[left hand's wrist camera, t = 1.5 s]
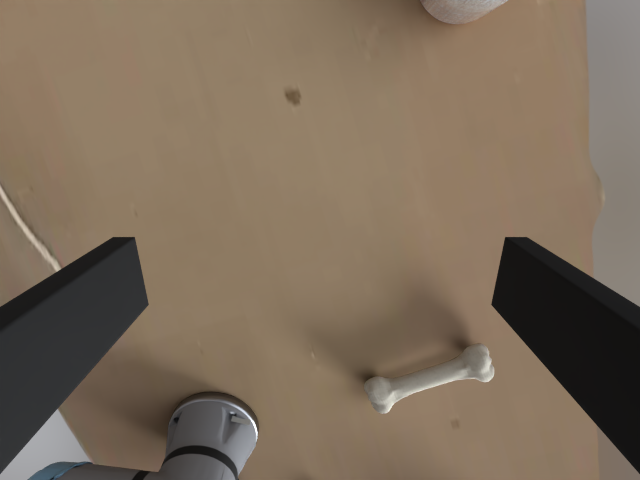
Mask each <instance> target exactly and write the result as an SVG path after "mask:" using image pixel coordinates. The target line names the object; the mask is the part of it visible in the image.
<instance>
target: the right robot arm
mask: <svg viewBox="0 0 640 480" xmlns="http://www.w3.org/2000/svg"><path fill="white" fill-rule="evenodd" d="M258 432H259V424H258V420H257V417H256V415H255V414H254V412H253V411H252V409H251V408H250V407H249V406H248V405H247V404H245V403H244V402H243V401H241V400H239V399H237V398H235V397H233V396H230V395H227V394H223V393H217V392H205V393H199V394H196V395H193V396H190V397H188V398H186V399H185V400H183V401H182V402H181V403H180V404H179V405H178V406H177V408H176V409H175V411H174V413H173V415H172V417H171V419H170V422H169V426H168V436H167V446H166V455H165V459H164V462H163V464H162V466H161V468H160V470H159V472H151V471H143V470H136V469H128V468H120V467H111V466H103V465H95V464H93V463H91V462H80V463H76V462H57V463H53V464H51V465H49V466H47V467H45V468H44V469H42V470H40V471H38V472H37V473H35V474H34V475H33V476H31V477H30V478H29V479H28V480H239V479H238V475H239V473H240V472H241V470H242V468H243V466H244V465H245V463H246V461H247V459H248V458H249V456H250V454H251V453H252V451H253V449H254V448H255V445H256V442H257V437H258Z"/></svg>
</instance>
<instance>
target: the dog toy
mask: <svg viewBox="0 0 640 480" xmlns="http://www.w3.org/2000/svg"><path fill="white" fill-rule="evenodd" d="M493 376H494V367H493V365H492V364H491V358H490V356H489V351H488V349H487V348H486V346H485V345H484V344H481V343H478V344H474V345H470V346H468V347H467V348H466V349H465V350H464V351H463V352H462V353H461V354H460V355H459V356H458V357H456V358H454V359H452V360H450V361H447V362H444V363H441V364H438V365H435V366H432V367H429V368H426V369H423V370H420V371H417V372H414V373H411V374H408V375H404V376H401V377H397V378H384V377H380V376H376V377H373V378H370V379H369V380H367V381H366V382H365V385H364V390H365V392H366V393H367V395H368V399H369V400H370V401H371V403H372V406H373V408H374V409H375V410H376V411H377V412H379V413H383V414H384V413H387V412H389V411H390V409H391V407H392V405H393V404H394V403H395V402H397V401H399V400H400V399H402V398H404V397H406V396H408V395H410V394H413V393H415V392H419V391H422V390H425V389H428V388H431V387H434V386H438V385H441V384H444V383H447V382H451V381H455V380H461V379H477V380H480V381H482V382H488V381H490V380H491V379H492V378H493Z"/></svg>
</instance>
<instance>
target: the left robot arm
mask: <svg viewBox="0 0 640 480" xmlns="http://www.w3.org/2000/svg"><path fill="white" fill-rule="evenodd" d="M148 305H149V304H148V299H147V294H146V290H145V285H144V280H143V275H142V270H141V265H140V260H139V256H138V251H137V246H136V241H135V237H113V238H111V239H109V240H108V241H106V242H105V243H103V244H101V245H100V246H98V247H96V248H95V249H93V250H92V251H90V252H88V253H87V254H85V255H84V256H82V257H80V258H79V259H77V260H75V261H74V262H72V263H71V264H69V265H67V266H66V267H64V268H63V269H61V270H59V271H58V272H56V273H54V274H53V275H51V276H50V277H48V278H46V279H45V280H43V281H42V282H40V283H38V284H37V285H35V286H33V287H32V288H30V289H29V290H27V291H25V292H24V293H22V294H21V295H19V296H17V297H16V298H14V299H12V300H11V301H9V302H8V303H6V304H4V305H3V306H1V307H0V474H1V473H2V471H3V470H4V469H5V468H6V467H7V466H8V464H9V463H10V462H11V461H12V460H13V459H14V458H15V457H16V455H17V454H18V453H19V452H20V451H21V450H22V449H23V447H24V446H25V445H26V444H27V443H28V442H29V441H30V439H31V438H32V437H33V436H34V435H35V434H36V433H37V431H38V430H39V429H40V428H41V427H42V426H43V425H44V423H45V422H46V421H47V420H48V419H49V418H50V417H51V415H52V414H53V413H54V412H55V411H56V410H57V409H58V407H59V406H60V405H61V404H62V403H63V402H64V401H65V399H66V398H67V397H68V396H69V395H70V394H71V393H72V392H73V390H74V389H75V388H76V387H77V386H78V385H79V384H80V382H81V381H82V380H83V379H84V378H85V377H86V376H87V374H88V373H89V372H90V371H91V370H92V369H93V368H94V366H95V365H96V364H97V363H98V362H99V361H100V360H101V358H102V357H103V356H104V355H105V354H106V353H107V352H108V350H109V349H110V348H111V347H112V346H113V345H114V344H115V342H116V341H117V340H118V339H119V338H120V337H121V336H122V334H123V333H124V332H125V331H126V330H127V329H128V328H129V326H130V325H131V324H132V323H133V322H134V321H135V320H136V318H137V317H138V316H139V315H140V314H141V313H142V312H143V311H144V309H145V308H146V307H147V306H148ZM491 305H492V306H493V307H494V308H495V309H496V311H497V312H498V313H499V314H500V315H501V316H502V317H503V318H504V320H505V321H506V322H507V323H508V324H509V325H510V326H511V328H512V329H513V330H514V331H515V332H516V333H517V334H518V336H519V337H520V338H521V339H522V340H523V341H524V342H525V344H526V345H527V346H528V347H529V348H530V349H531V350H532V352H533V353H534V354H535V355H536V356H537V357H538V358H539V360H540V361H541V362H542V363H543V364H544V365H545V366H546V368H547V369H548V370H549V371H550V372H551V373H552V374H553V376H554V377H555V378H556V379H557V380H558V381H559V382H560V384H561V385H562V386H563V387H564V388H565V389H566V390H567V392H568V393H569V394H570V395H571V396H572V397H573V398H574V399H575V401H576V402H577V403H578V404H579V405H580V406H581V407H582V409H583V410H584V411H585V412H586V413H587V414H588V415H589V417H590V418H591V419H592V420H593V421H594V422H595V423H596V425H597V426H598V427H599V428H600V429H601V430H602V431H603V433H604V434H605V435H606V436H607V437H608V438H609V439H610V441H611V442H612V443H613V444H614V445H615V446H616V447H617V449H618V450H619V451H620V452H621V453H622V454H623V455H624V457H625V458H626V459H627V460H628V461H629V462H630V463H631V465H632V466H633V467H634V468H635V469H636V470H637V471H638V472H639V474H640V307H639V306H637V305H636V304H634V303H632V302H631V301H629V300H627V299H626V298H624V297H623V296H621V295H619V294H618V293H616V292H615V291H613V290H611V289H610V288H608V287H607V286H605V285H603V284H602V283H600V282H598V281H597V280H595V279H594V278H592V277H590V276H589V275H587V274H586V273H584V272H582V271H581V270H579V269H577V268H576V267H574V266H573V265H571V264H569V263H568V262H566V261H565V260H563V259H561V258H560V257H558V256H556V255H555V254H553V253H552V252H550V251H548V250H547V249H545V248H544V247H542V246H540V245H539V244H537V243H535V242H534V241H532V240H531V239H529V238H527V237H505V241H504V246H503V251H502V256H501V260H500V265H499V270H498V275H497V280H496V285H495V290H494V294H493V299H492V304H491Z"/></svg>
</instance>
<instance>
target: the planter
mask: <svg viewBox="0 0 640 480" xmlns="http://www.w3.org/2000/svg"><path fill="white" fill-rule="evenodd" d="M506 1H508V0H420V2H421V4H422V5H423V7H424V8H425V9H426V11H427V12H428V13H429V14H430V15H432V16H433V17H434V18H436V19H438V20H440V21H442V22H445V23H449V24H464V23H468V22H472V21H475V20H477V19H479V18H481V17H483V16H484V15H486V14H488V13H489V12H491V11H492V10H494V9H495V8H497V7H498V6H500V5H502V4H503V3H505V2H506Z"/></svg>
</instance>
